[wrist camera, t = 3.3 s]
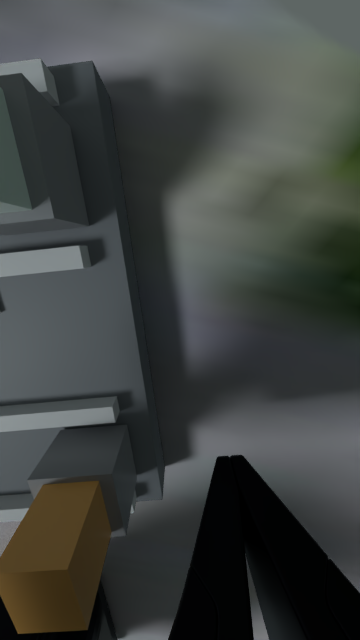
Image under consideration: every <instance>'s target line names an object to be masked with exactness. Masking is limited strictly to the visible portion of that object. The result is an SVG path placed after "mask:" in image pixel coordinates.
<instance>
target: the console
mask: <svg viewBox="0 0 360 640" xmlns="http://www.w3.org/2000/svg"><path fill="white" fill-rule="evenodd" d="M16 73H22V74H23V75H24V76H25V77H26V78H27V79H28V81H29V82H30V83H31V84H32V85H33V86H34V87H35V88H36V89H37V90H38V91H39V93H40V94H41V95H42V96H43V97H44V98H45V99H46V100H47V101H48V102H49V103H50V105H51V106H52V107H53V108H54V109H55V110H56V111H57V112H58V113H59V114H60V115H61V117H62V118H63V119H64V120H65V121H66V122H67V123H68V124H69V125H70V128H71V133H72V138H73V144H74V149H75V154H76V159H77V165H78V170H79V175H80V180H81V186H82V191H83V196H84V201H85V207H86V212H87V217H88V222H89V226H88V227H79V228H70V229H61V230H52V231H43V232H33V233H24V234H15V235H6V236H5V235H0V522H13V521H22V520H23V518H24V516H25V514H26V513H27V511H28V509H29V508H30V506H31V504H32V502H33V501H34V499H33V496H32V493H31V490H30V487H29V484H28V481H27V480H28V478H29V477H30V475H31V474H32V472H33V471H34V469H35V468H36V466H37V465H38V463H39V462H40V460H41V459H42V457H43V456H44V454H45V453H46V451H47V450H48V448H49V446H50V445H51V443H52V442H53V440H54V439H55V437H56V436H57V434H58V433H59V431H60V430H66V429H79V428H91V427H103V426H115V425H127V427H128V432H129V438H130V443H131V448H132V453H133V459H134V464H135V469H136V474H137V481H136V486H135V491H134V497H133V502H132V507H131V512H130V513H134V510H135V504H136V501H149V500H162V498H163V485H164V472H165V465H164V458H163V452H162V445H161V438H160V432H159V425H158V418H157V412H156V405H155V398H154V391H153V385H152V378H151V371H150V365H149V358H148V351H147V345H146V338H145V331H144V324H143V318H142V311H141V304H140V298H139V291H138V284H137V278H136V271H135V264H134V257H133V251H132V244H131V237H130V231H129V224H128V217H127V211H126V204H125V197H124V190H123V184H122V177H121V170H120V164H119V157H118V150H117V144H116V137H115V130H114V123H113V117H112V110H111V103H110V97H109V95H108V93H107V90H106V88H105V86H104V84H103V82H102V80H101V78H100V76H99V74H98V72H97V70H96V67H95V65H94V63H93V61H87V62H80V63H72V64H65V65H57V66H50V67H47V66H46V65H45V64H44V62H43V61H42V60H41V59H33V60H26V61H18V62H11V63H4V64H0V76H1V75H9V74H16Z"/></svg>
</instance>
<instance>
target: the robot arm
mask: <svg viewBox="0 0 360 640" xmlns="http://www.w3.org/2000/svg"><path fill="white" fill-rule="evenodd" d="M245 554H246V557H247V561H248V564H249V568H250V572H251V575H252V579H253V583H254V586H255V590H256V593H257V597H258V601H259V604H260V608H261V611H262V615H263V619H264V622H265V626H266V630H267V633H268V637H269V640H360V593H359V592H358V590H357V589H356V588H355V587H354V586H353V585H352V584H351V582H350V581H349V580H348V579H347V578H346V577H345V576H344V574H343V573H342V572H341V571H340V570H339V568H338V567H337V566H336V565H335V564H334V563H333V561H332V560H331V559H328V556H327V554H326V553H325V552H324V551H323V550H322V549H321V547H320V546H319V545H318V544H317V543H316V541H315V540H314V539H313V538H312V537H311V536H310V534H309V533H308V532H307V531H306V530H305V528H304V527H303V526H302V525H301V524H300V523H299V521H298V520H297V519H296V518H295V517H294V515H293V514H292V513H291V512H290V511H289V510H288V508H287V507H286V506H285V505H284V504H283V502H282V501H281V500H280V499H279V498H278V497H277V495H276V494H275V493H274V492H273V491H272V489H271V488H270V487H269V486H268V485H267V484H266V482H265V481H264V480H263V479H262V478H261V476H260V475H259V474H258V473H257V472H256V471H255V469H254V468H253V467H252V466H251V465H250V463H249V462H248V461H247V460H246V459H245V458H244V456H242V455H232V456H230V457H229V456H219V457H217V459H216V463H215V467H214V471H213V475H212V479H211V483H210V487H209V491H208V495H207V499H206V503H205V507H204V511H203V515H202V519H201V523H200V527H199V531H198V535H197V539H196V543H195V547H194V551H193V555H192V559H191V563H190V568H189V570H188V574H187V578H186V582H185V586H184V590H183V593H182V597H181V600H180V604H179V607H178V611H177V614H176V617H175V620H174V623H173V626H172V629H171V632H170V635H169V638H168V640H254V638H253V628H252V617H251V607H250V597H249V587H248V577H247V567H246V557H245ZM0 640H117V637H116V634H115V630H114V627H113V623H112V620H111V616H110V613H109V609H108V606H107V602H106V599H105V595H104V592H103V588H102V585H101V581H100V582H99V586H98V590H97V594H96V598H95V602H94V606H93V610H92V614H91V618H90V622H89V626H88V630H80V631H62V632H44V633H25V634H18V633H17V630H16V628H15V626H14V624H13V622H12V620H11V617H10V615H9V613H8V611H7V609H6V607H5V604H4V602H3V600H2V598H1V596H0Z"/></svg>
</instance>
